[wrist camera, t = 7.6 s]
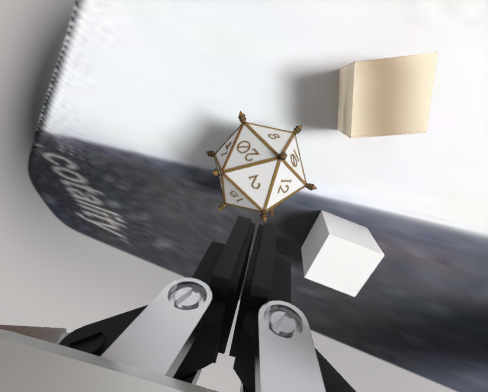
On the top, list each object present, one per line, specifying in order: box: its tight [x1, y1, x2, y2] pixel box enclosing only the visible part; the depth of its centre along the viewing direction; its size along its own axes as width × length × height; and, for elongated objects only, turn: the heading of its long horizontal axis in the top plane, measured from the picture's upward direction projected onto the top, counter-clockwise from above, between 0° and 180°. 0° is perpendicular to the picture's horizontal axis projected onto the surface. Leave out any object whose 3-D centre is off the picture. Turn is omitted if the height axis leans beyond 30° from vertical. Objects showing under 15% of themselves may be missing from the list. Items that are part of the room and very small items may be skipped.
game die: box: [206, 111, 317, 222], centre depth 22 cm, size 9×8×10 cm
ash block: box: [337, 52, 438, 138], centre depth 20 cm, size 5×5×5 cm
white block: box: [301, 210, 384, 297], centre depth 25 cm, size 5×5×5 cm
